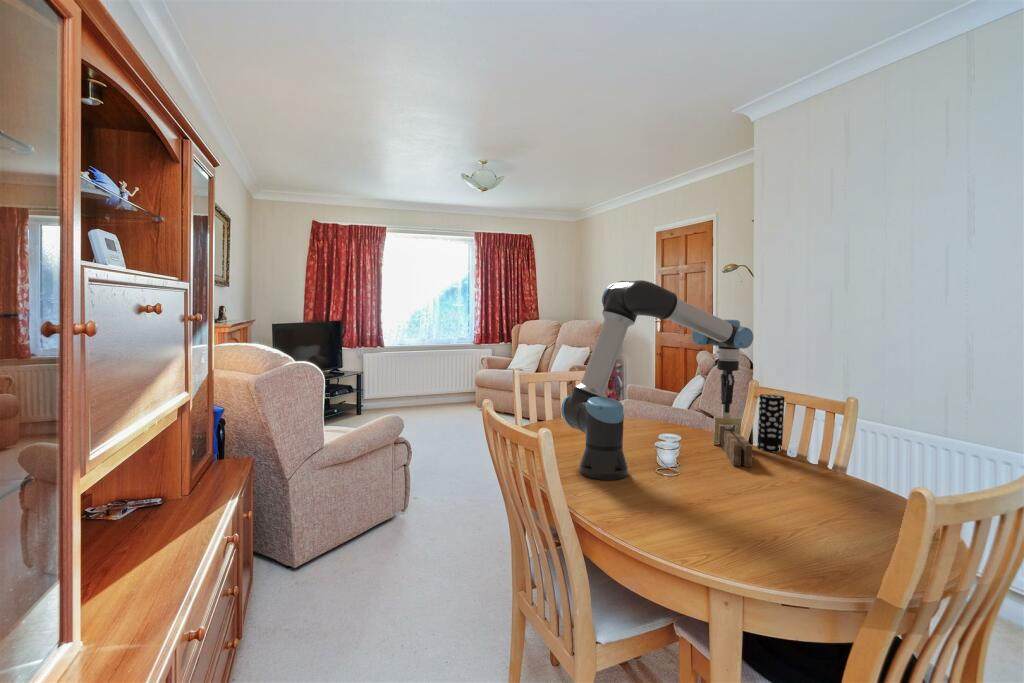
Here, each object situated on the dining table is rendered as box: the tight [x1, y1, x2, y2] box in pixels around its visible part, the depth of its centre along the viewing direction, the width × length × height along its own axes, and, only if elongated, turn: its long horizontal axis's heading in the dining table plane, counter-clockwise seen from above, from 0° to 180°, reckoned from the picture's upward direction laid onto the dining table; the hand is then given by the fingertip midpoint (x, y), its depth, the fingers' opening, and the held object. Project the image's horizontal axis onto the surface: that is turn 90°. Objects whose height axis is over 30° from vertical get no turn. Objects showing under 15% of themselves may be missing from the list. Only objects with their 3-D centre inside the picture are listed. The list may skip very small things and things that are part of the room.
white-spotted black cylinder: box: [756, 393, 786, 453], centre depth 192 cm, size 8×8×20 cm
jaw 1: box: [723, 431, 741, 467], centre depth 180 cm, size 20×2×7 cm, turn 166°
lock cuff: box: [712, 415, 742, 446], centre depth 196 cm, size 3×9×11 cm, turn 78°
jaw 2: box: [731, 431, 753, 468], centre depth 180 cm, size 20×2×7 cm, turn 170°
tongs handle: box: [718, 424, 735, 449], centre depth 195 cm, size 11×4×8 cm, turn 168°
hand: (725, 420), depth 198 cm, fingers closed
